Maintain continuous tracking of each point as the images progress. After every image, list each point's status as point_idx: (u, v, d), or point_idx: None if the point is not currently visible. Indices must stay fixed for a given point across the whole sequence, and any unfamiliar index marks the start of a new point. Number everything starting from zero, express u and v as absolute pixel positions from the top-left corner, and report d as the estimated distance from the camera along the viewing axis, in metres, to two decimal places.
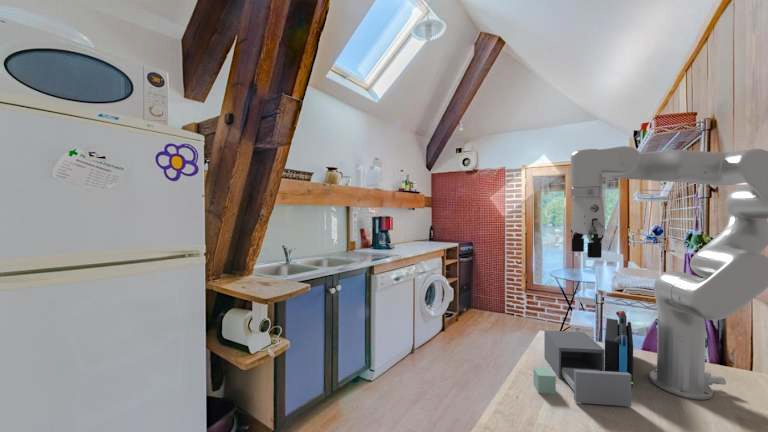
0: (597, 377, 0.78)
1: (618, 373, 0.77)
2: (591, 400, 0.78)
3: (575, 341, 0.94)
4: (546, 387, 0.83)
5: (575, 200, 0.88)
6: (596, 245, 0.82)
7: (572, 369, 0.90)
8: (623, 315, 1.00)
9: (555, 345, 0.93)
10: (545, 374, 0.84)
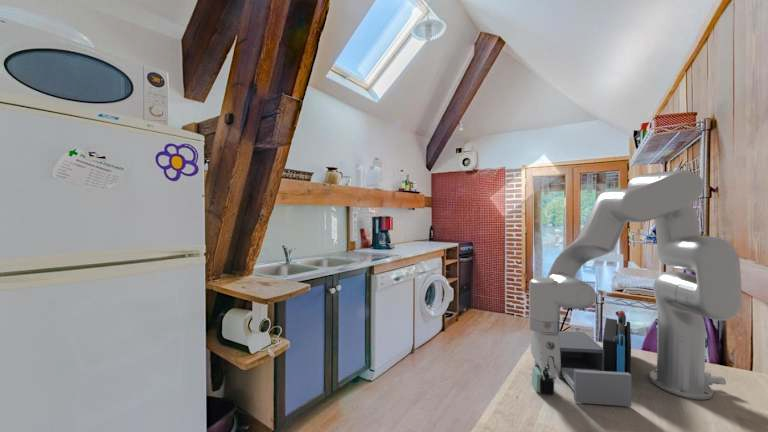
0: (597, 377, 0.78)
1: (618, 373, 0.77)
2: (591, 400, 0.78)
3: (575, 341, 0.94)
4: None
5: None
6: (548, 383, 0.82)
7: (572, 369, 0.90)
8: (622, 315, 1.00)
9: None
10: None
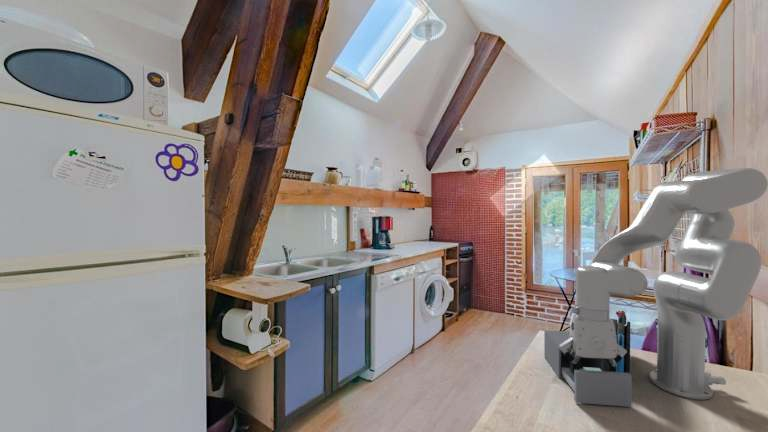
0: (597, 377, 0.78)
1: (618, 373, 0.77)
2: (591, 401, 0.78)
3: None
4: None
5: None
6: (571, 363, 0.84)
7: None
8: (622, 315, 1.00)
9: (555, 345, 0.93)
10: None
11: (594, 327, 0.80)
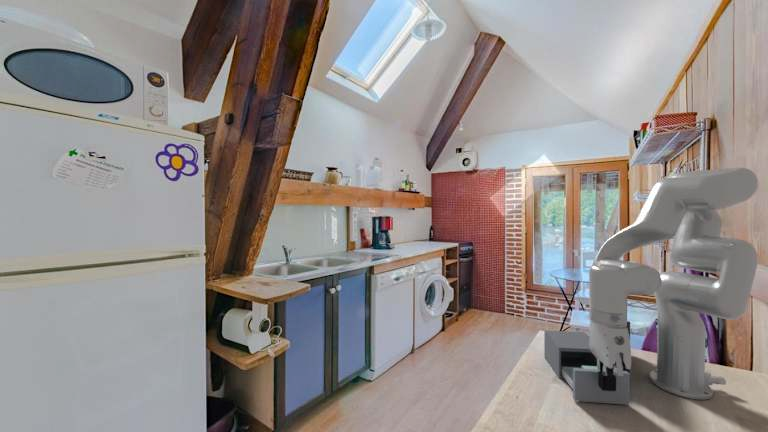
0: (596, 375, 0.78)
1: None
2: (589, 399, 0.79)
3: (575, 341, 0.94)
4: None
5: None
6: (610, 379, 0.74)
7: (571, 368, 0.91)
8: None
9: (555, 345, 0.93)
10: None
11: None
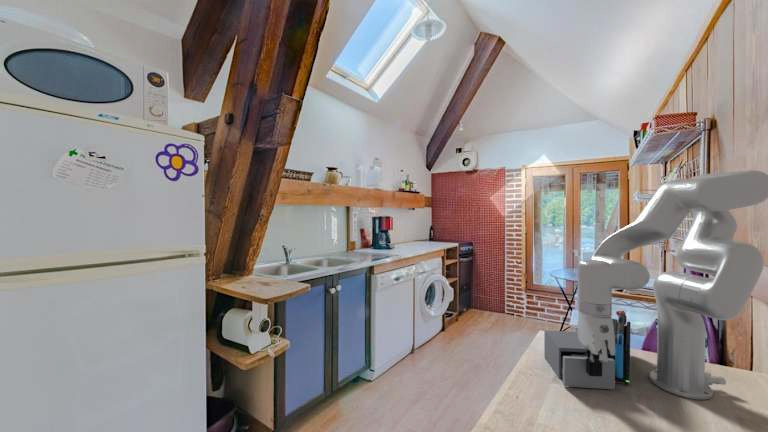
0: (584, 362, 0.85)
1: None
2: (578, 384, 0.85)
3: (575, 341, 0.94)
4: None
5: None
6: (597, 365, 0.81)
7: (562, 357, 0.97)
8: (622, 315, 1.00)
9: (555, 345, 0.93)
10: None
11: None
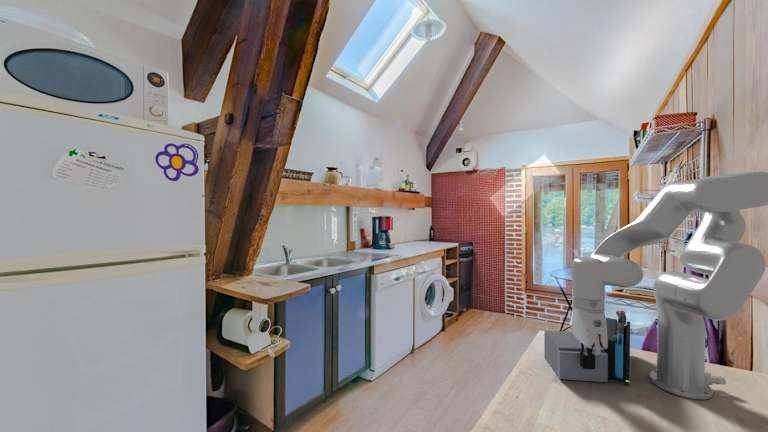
0: (578, 356, 0.88)
1: None
2: (572, 377, 0.88)
3: (575, 341, 0.94)
4: None
5: None
6: (590, 358, 0.84)
7: None
8: (622, 315, 1.00)
9: (555, 345, 0.93)
10: None
11: None
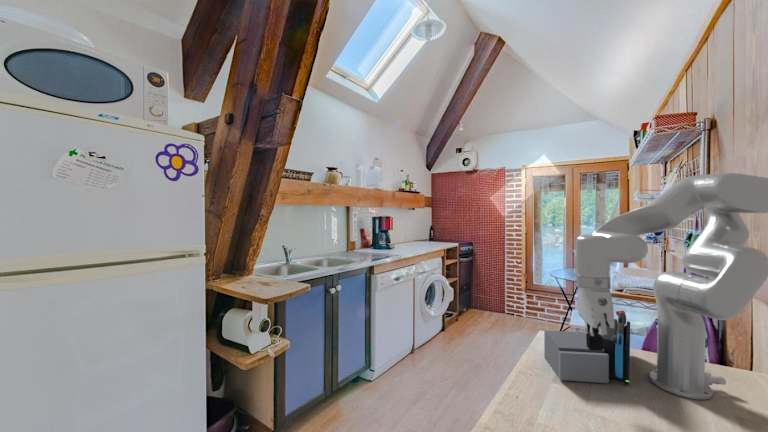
0: (579, 357, 0.87)
1: (597, 353, 0.87)
2: (573, 378, 0.88)
3: (575, 341, 0.94)
4: None
5: (581, 287, 0.83)
6: (597, 339, 0.81)
7: None
8: (622, 315, 1.00)
9: (555, 345, 0.93)
10: None
11: None
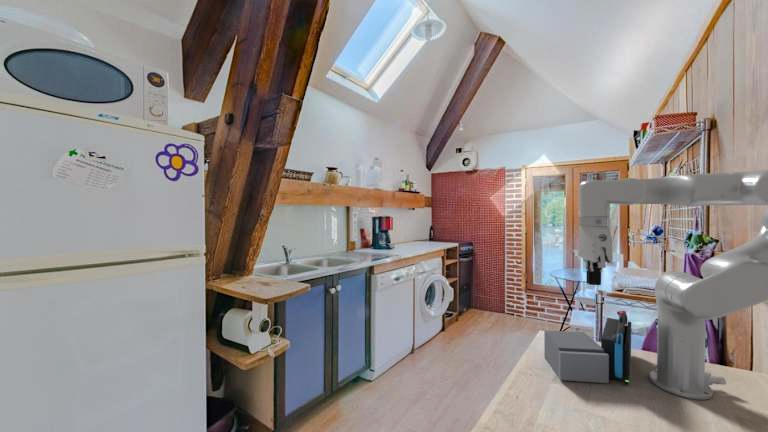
0: (579, 357, 0.87)
1: (597, 353, 0.87)
2: (573, 378, 0.88)
3: (575, 341, 0.94)
4: None
5: (583, 228, 0.91)
6: (596, 274, 0.90)
7: None
8: (623, 315, 1.00)
9: (555, 345, 0.93)
10: None
11: None
